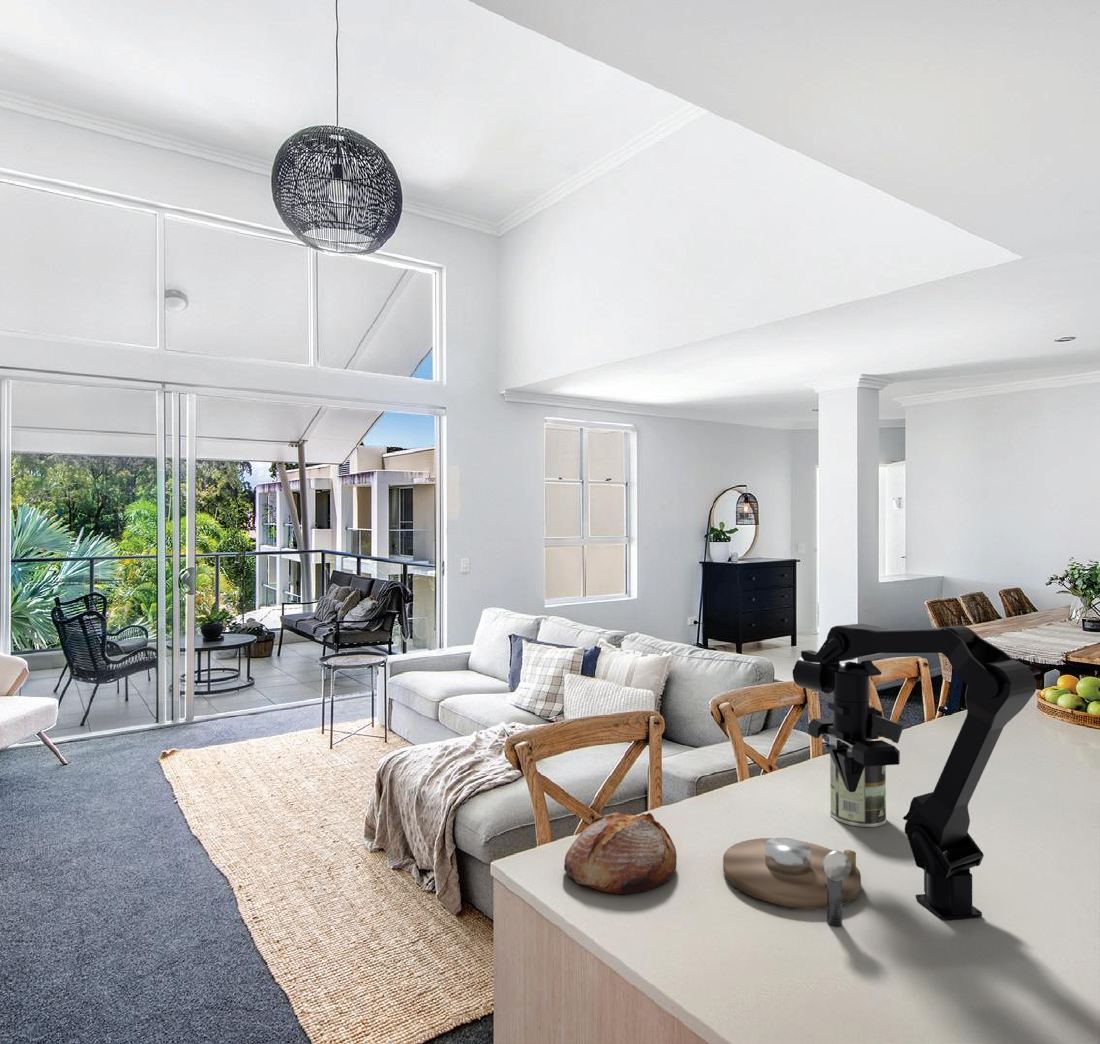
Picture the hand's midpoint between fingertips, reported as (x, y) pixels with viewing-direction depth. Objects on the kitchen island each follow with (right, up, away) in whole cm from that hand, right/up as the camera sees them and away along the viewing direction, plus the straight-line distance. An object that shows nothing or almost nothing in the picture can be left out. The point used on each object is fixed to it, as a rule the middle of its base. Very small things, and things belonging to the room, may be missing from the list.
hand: (851, 791), depth 125 cm
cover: (-13, -10, -6) cm, 17 cm away
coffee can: (+9, -12, +20) cm, 25 cm away
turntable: (-12, -12, -6) cm, 18 cm away
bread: (-39, -12, -3) cm, 41 cm away
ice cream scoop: (-10, -12, -19) cm, 25 cm away
